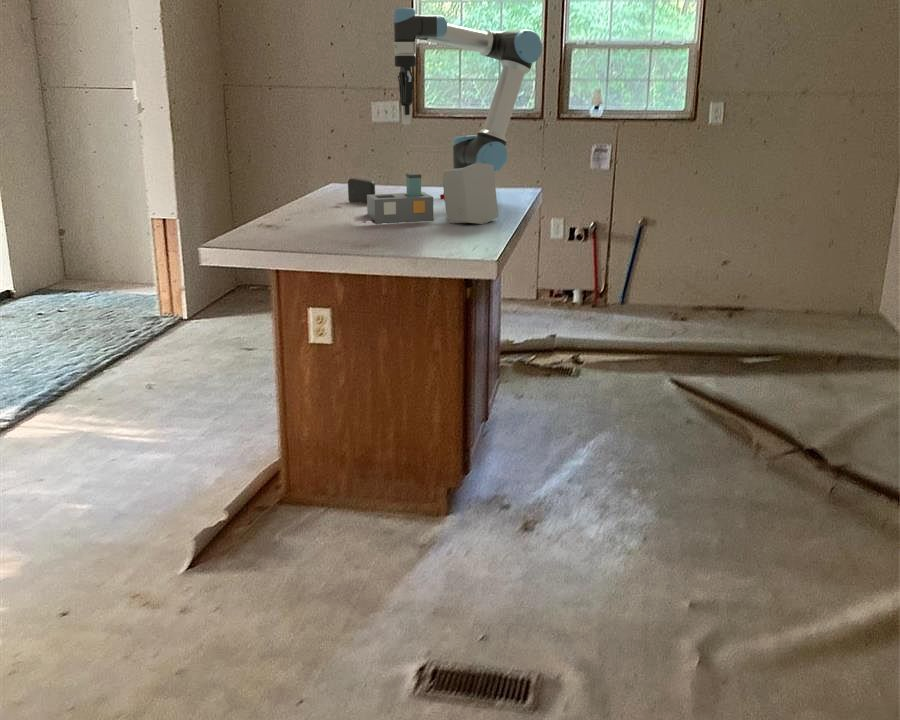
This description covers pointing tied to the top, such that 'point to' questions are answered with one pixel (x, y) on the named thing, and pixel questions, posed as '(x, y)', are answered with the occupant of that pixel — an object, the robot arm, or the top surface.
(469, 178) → the electrical switch box
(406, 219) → the junction block
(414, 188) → the plug
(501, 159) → the robot arm
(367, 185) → the dark grey curved block
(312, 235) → the top surface
